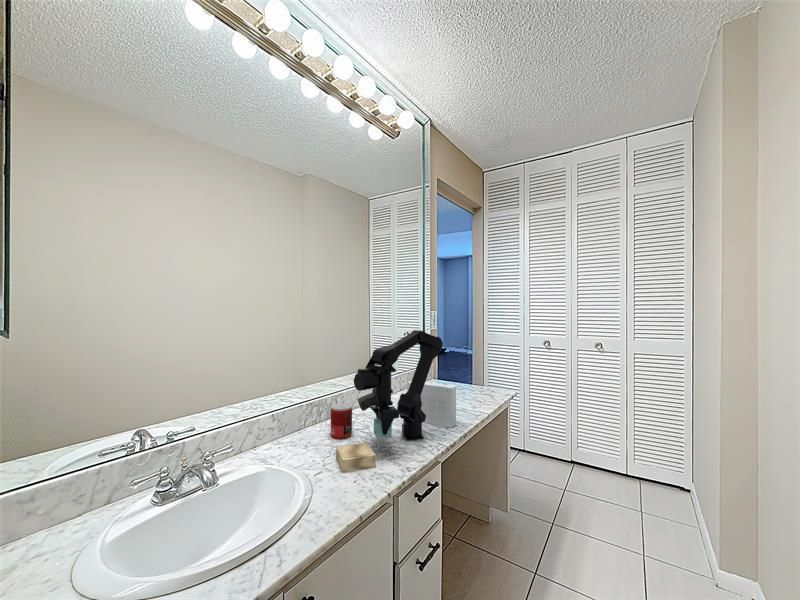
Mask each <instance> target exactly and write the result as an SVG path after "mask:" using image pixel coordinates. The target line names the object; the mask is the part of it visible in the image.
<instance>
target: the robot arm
mask: <svg viewBox="0 0 800 600" xmlns="http://www.w3.org/2000/svg"><path fill="white" fill-rule="evenodd" d="M416 345H419V353H420V357H419V360H418V362H417V364H416V368H415V371H414V374H413V376H412V379H411V381H412V382H411V384H410V387H409V390H408V391H407V390H406V392H405V393H401V394H400V395H399V399H398V402H396V403H397V407H395V406H394V402H393V401H392V394H394V390H393V389H392V373H394V372H397V369H396V368H395V367H393V365H394V364H395V363H396V362H397V361H398V359H399V357H400V356H401V355H402V354H404V353H405V352H407V351H409V350H410V349H411V348H413V347H414V346H416ZM443 345H444V343H443V341H442V338H441V337H440V336H435V335H433V334H429V333H428V332H425V331H424V330H417V329H414V330H412V331H410V333H409V334H406V336H403V337H402V338H400V339H399V340H397V341H395V342H394V343H392V344H390V345H385V346H380V347H378V348H376V349H374V350H373V351H372V354H371V357H370V358H369V360H368V362H367V364H366V366H365V368H358V369H357V372H356V374H355V375H354V377H353V386H354V388H355V389H356V390H357V391H358V392H362V391H367V390H371V389H372V390H371V391H372V392H371V393H368V394H365V395H363V396H361V397H359V398H357V400H356V401H357V403H358V405H359V409H360V410H361V411H362V412H364V411H367V410H369V409H371V411H373V413H374V414H375V419H377V418H379V419H380V420H381V425H382V432H383V435H386V434H387V432H388V430H389V428H390V426H391V424H392V423H393V422H394V420H395V419H403V420H402V421H403V422H402V424H401V435H402V436H403V437H404V439H405V440H406V441H413V440H414V441H415V440H422V439H424V438H425V437H424V436H423V427H422V426H423V423H424V421H425V419H426V415H425V414H424V412H423V411H422V410H421V407H422V401H421V393H422V390H423V387H424V384H425V382H426V381H427V378H428V376H429V372H430V370H431V366H432V363H433V360H434V359H435V358H437V357H438V356H439V355H440V353H441V351H442V349H443Z"/></svg>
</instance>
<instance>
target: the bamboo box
mask: <svg viewBox="0 0 800 600" xmlns="http://www.w3.org/2000/svg"><path fill="white" fill-rule="evenodd" d="M335 448H336V449H335V459H336V461H337V464H338V465H339V468H340V470H341V473H342V474H345V473H351V472H356V471H362V470H367V469H373V468H376V464H377V461H376V459H377V457H376V453H375V451H373V449H372V447H371V446H370V445H369V444H368V442H367V441H366V442H359V443H353V444H346V445H339V446H336V447H335Z"/></svg>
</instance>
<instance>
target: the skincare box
mask: <svg viewBox="0 0 800 600" xmlns="http://www.w3.org/2000/svg"><path fill="white" fill-rule="evenodd" d="M411 382H412V380H410V381H407V382H406V385H407V386H406V392H407V391H408V390H409V387H410V384H411ZM421 401H422V407H421V410H422V411H423V412H424V414H425V415H426V419H425V421H424V422H423V423H424V424H429V425H435V426H439V427H444V428H448V429H452V428H453V427H456V424H457V420H456V419H457V386H456V385H449V384H441V383H434V382H428V381H427V382H426V381H425V384H424V387H423V390H422V393H421Z"/></svg>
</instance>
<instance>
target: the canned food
mask: <svg viewBox="0 0 800 600" xmlns="http://www.w3.org/2000/svg"><path fill="white" fill-rule="evenodd" d="M352 433H353V405H352V404H350V403H346V402H343V403H342V402H341V403H340V402H338V403H334V404H332V405H331V406H330V436H331V438H332V439H334V440H345V439H349V438H351V436H352Z"/></svg>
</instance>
